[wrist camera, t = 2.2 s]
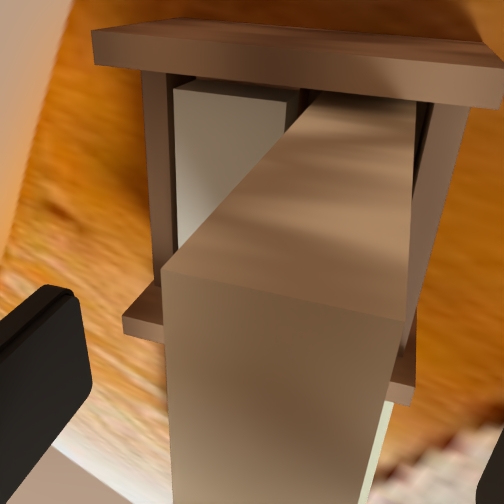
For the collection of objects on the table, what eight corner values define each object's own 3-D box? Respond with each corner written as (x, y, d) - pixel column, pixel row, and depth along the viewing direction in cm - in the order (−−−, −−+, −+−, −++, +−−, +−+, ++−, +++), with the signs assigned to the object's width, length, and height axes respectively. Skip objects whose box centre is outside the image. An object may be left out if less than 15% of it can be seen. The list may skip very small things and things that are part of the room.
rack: (483, 42, 18) (511, 69, 12) (412, 308, 24) (409, 407, 18) (179, 17, 20) (90, 30, 15) (185, 261, 26) (123, 333, 21)
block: (417, 84, 18) (406, 322, 5) (374, 285, 22) (314, 670, 10) (336, 75, 19) (160, 268, 6) (310, 272, 23) (179, 616, 11)
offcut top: (299, 90, 17) (286, 102, 16) (281, 285, 22) (269, 310, 20) (196, 79, 18) (173, 89, 17) (197, 267, 22) (179, 290, 21)
